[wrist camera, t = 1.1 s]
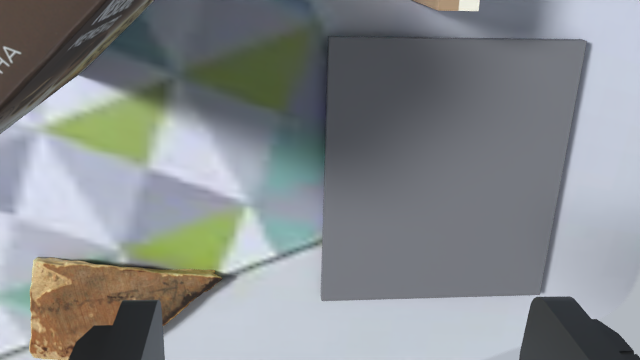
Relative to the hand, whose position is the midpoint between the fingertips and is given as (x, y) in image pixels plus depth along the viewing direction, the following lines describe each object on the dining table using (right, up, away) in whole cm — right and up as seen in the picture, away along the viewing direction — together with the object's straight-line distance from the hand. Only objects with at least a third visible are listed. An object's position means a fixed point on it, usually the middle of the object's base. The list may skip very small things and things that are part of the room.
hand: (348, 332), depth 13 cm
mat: (+7, +3, +22) cm, 24 cm away
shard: (-14, -3, +24) cm, 28 cm away
